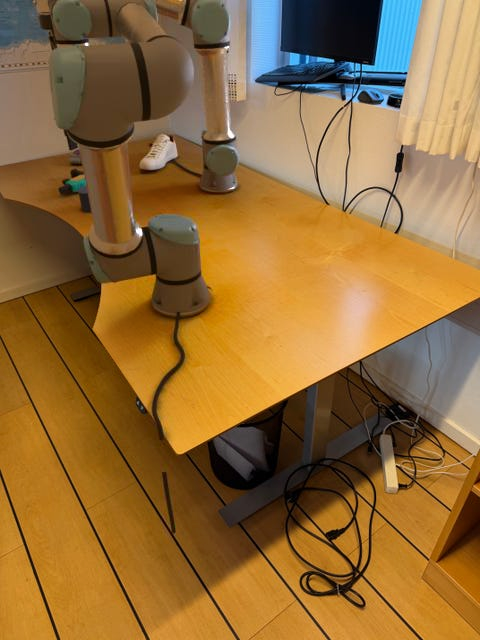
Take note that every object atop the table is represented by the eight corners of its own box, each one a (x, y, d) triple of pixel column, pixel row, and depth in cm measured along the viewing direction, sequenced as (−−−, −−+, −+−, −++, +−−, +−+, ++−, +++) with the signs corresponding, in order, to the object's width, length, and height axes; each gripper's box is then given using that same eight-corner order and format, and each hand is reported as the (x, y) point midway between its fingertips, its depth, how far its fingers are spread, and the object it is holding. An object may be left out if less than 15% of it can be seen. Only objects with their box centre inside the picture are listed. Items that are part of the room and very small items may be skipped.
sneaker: (133, 173, 208) (129, 144, 201) (161, 153, 230) (158, 127, 223) (155, 175, 205) (151, 146, 198) (180, 155, 227) (178, 129, 220)
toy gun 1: (116, 157, 226) (102, 168, 214) (79, 155, 229) (64, 165, 217) (114, 149, 224) (100, 159, 212) (78, 147, 227) (62, 157, 215)
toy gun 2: (37, 182, 187) (65, 188, 181) (83, 164, 205) (110, 169, 200) (39, 193, 189) (67, 200, 184) (85, 174, 208) (111, 179, 202)
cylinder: (103, 209, 176) (99, 190, 172) (84, 213, 173) (80, 194, 169) (98, 203, 181) (94, 185, 177) (79, 207, 178) (75, 188, 174)
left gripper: (128, 63, 114) (140, 153, 126) (48, 58, 122) (67, 143, 135) (108, 68, 108) (123, 161, 121) (26, 62, 117) (48, 150, 129)
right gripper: (34, 11, 149) (50, 86, 162) (41, 16, 131) (59, 100, 143) (59, 11, 152) (73, 84, 164) (69, 15, 133) (84, 97, 146)
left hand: (93, 152), depth 128 cm, fingers open, 13 cm apart
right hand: (67, 91), depth 154 cm, fingers open, 13 cm apart
